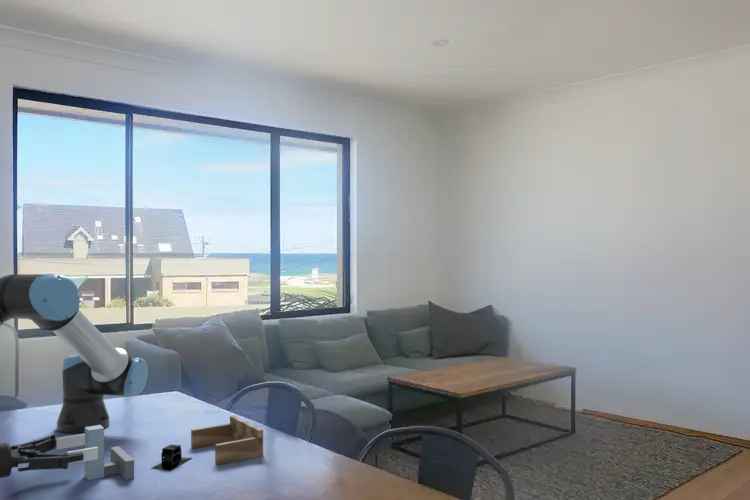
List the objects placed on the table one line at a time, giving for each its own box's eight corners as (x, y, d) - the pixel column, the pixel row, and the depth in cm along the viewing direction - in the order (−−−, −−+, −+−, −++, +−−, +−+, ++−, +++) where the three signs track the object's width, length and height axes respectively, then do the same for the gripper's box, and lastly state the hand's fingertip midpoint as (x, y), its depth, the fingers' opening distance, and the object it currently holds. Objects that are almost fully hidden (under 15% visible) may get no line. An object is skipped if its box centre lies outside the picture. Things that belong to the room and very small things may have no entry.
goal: (191, 447, 183) (191, 422, 183) (234, 439, 191) (234, 415, 191) (217, 465, 168) (217, 437, 168) (263, 455, 176) (263, 429, 176)
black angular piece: (169, 475, 162) (169, 456, 162) (142, 473, 164) (142, 453, 164) (197, 458, 175) (197, 440, 175) (172, 456, 177) (172, 438, 177)
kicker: (80, 470, 164) (80, 422, 164) (118, 463, 169) (118, 417, 169) (93, 486, 153) (93, 435, 153) (134, 478, 158) (134, 428, 158)
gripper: (-16, 464, 156) (79, 448, 169) (-4, 496, 136) (103, 475, 148) (-16, 433, 156) (79, 419, 169) (-4, 460, 136) (103, 442, 148)
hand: (91, 445), depth 158 cm, fingers open, 13 cm apart
